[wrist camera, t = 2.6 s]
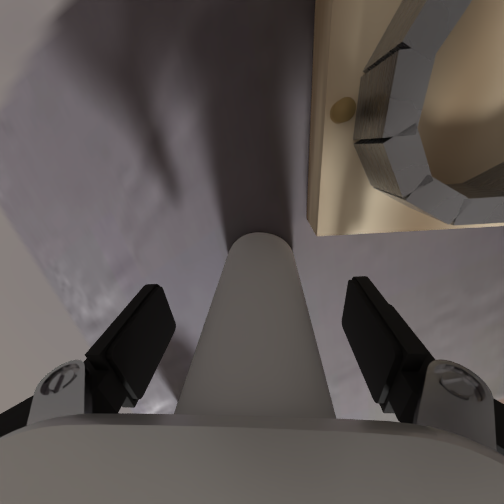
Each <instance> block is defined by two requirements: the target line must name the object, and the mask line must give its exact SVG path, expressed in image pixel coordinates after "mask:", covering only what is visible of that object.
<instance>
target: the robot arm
mask: <svg viewBox="0 0 504 504" xmlns="http://www.w3.org/2000/svg"><path fill="white" fill-rule="evenodd" d="M342 327H343V329H344V332H345V334H346V336H347V339H348V341H349V344H350V346H351V348H352V351H353V353H354V355H355V358H356V360H357V362H358V365H359V367H360V369H361V372H362V374H363V376H364V379H365V381H366V383H367V386H368V388H369V390H370V393H371V395H372V398H373V400H374V401H375V402H376V403H379V404H380V406H381V408H382V411H383V413H395V415H396V417H397V419H398V421H400V422H401V423H400V422H391V421H374V420H354V419H330V418H297V417H263V416H224V415H180V414H119V413H118V412H119V410H120V408H121V406H122V407H135V406H136V404H137V402H138V400H139V399H141V398H142V397H143V395H144V393H145V391H146V389H147V387H148V385H149V383H150V381H151V379H152V377H153V375H154V373H155V371H156V369H157V366H158V364H159V362H160V360H161V358H162V356H163V354H164V352H165V350H166V348H167V346H168V344H169V342H170V340H171V338H172V336H173V334H174V332H175V329H176V324H175V321H174V318H173V315H172V312H171V310H170V307H169V304H168V301H167V299H166V296H165V293H164V290H163V288H162V287H160V286H159V285H158V284H147V285H145V286H144V287H143V288H142V289H141V290H140V291H139V293H138V294H137V295H136V296H135V297H134V298H133V299H132V301H131V302H130V303H129V304H128V305H127V306H126V308H125V309H124V310H123V311H122V312H121V313H120V315H119V316H118V317H117V318H116V319H115V320H114V322H113V323H112V324H111V325H110V326H109V327H108V328H107V330H106V331H105V332H104V333H103V334H102V335H101V337H100V338H99V339H98V340H97V341H96V342H95V344H94V345H93V346H92V347H91V348H90V349H89V351H88V352H87V353H86V354H85V356H86V357H87V359H86V360H85V361H84V362H82V361H81V360H73V361H69V362H66V363H64V364H62V365H60V366H58V367H57V368H55V369H54V370H52V371H51V372H50V373H48V374H47V375H46V376H45V377H44V378H43V379H42V380H41V381H40V383H39V384H38V386H37V387H36V390H35V392H34V395H33V396H32V397H30V398H28V399H26V400H25V401H23V402H21V403H19V404H17V405H16V406H14V407H12V408H10V409H9V410H7V411H5V412H3V413H1V414H0V504H504V404H502V403H501V402H499V401H497V400H495V399H493V396H492V393H491V391H490V389H489V388H488V386H487V385H486V383H485V382H484V381H483V380H482V379H481V378H480V377H479V376H477V375H476V374H475V373H473V372H472V371H470V370H469V369H467V368H465V367H463V366H462V365H460V364H457V363H454V362H452V361H447V360H435V359H434V357H433V356H432V355H431V354H430V352H429V351H428V350H427V349H426V347H425V346H424V345H423V344H422V342H421V341H420V340H419V339H418V337H417V336H416V335H415V334H414V332H413V331H412V330H411V328H410V327H409V326H408V325H407V323H406V322H405V321H404V320H403V318H402V317H401V316H400V315H399V313H398V312H397V311H396V310H395V308H394V307H393V306H392V305H390V304H388V302H387V301H386V300H385V299H384V297H383V296H382V295H381V293H380V292H379V291H378V290H377V288H376V287H375V286H374V284H373V283H372V282H371V281H370V279H369V278H368V277H366V276H361V277H353V278H352V280H349V281H348V286H347V292H346V298H345V304H344V311H343V317H342Z"/></svg>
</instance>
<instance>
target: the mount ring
mask: <svg viewBox="0 0 504 504" xmlns="http://www.w3.org/2000/svg"><path fill="white" fill-rule="evenodd" d="M471 1H472V0H402V2H401V4H400V6H399V8H398V9H397V11H396V13H395V15H394V17H393V18H392V20H391V22H390V24H389V25H388V27H387V29H386V31H385V33H384V34H383V36H382V38H381V40H380V41H379V43H378V45H377V47H376V49H375V50H374V52H373V54H372V56H371V58H370V59H369V61H368V63H367V65H366V66H365V68H364V70H363V72H364V73H366V74H365V75H363V76H362V77H361V79H360V87H359V95H358V103H357V111H356V119H355V127H354V135H353V140H357V139H360V140H359V141H357V142H356V143H354V147H355V149H356V151H357V154H358V156H359V159H360V161H361V163H362V166H363V168H364V170H365V173H366V175H367V177H368V180H369V182H370V184H371V186H374V187H373V188H374V189H376V190H378V191H380V192H382V193H383V194H385V195H387V196H389V197H391V198H393V199H394V200H396V201H398V202H400V203H402V204H403V205H405V206H407V207H409V208H412V209H414V210H416V211H418V212H421V213H423V214H425V215H428V216H430V217H432V218H435V219H437V220H439V221H442V222H444V223H446V224H451V225H453V226H454V225H472V224H489V223H504V162H502V163H500V164H498V165H496V166H494V167H493V168H491V169H489V170H487V171H485V172H483V173H481V174H479V175H477V176H475V177H473V178H471V179H469V180H467V181H466V182H464V183H458V184H444V183H442V182H440V181H439V180H437V179H435V178H433V177H432V175H431V172H430V169H429V165H428V162H427V158H426V155H425V152H424V148H423V145H422V141H421V138H420V135H419V131H418V124H419V120H420V116H421V112H422V108H423V104H424V100H425V96H426V92H427V88H428V84H429V80H430V76H431V72H432V68H433V64H434V60H435V56H436V53H437V52H438V50H439V49H440V47H441V46H442V44H443V43H444V41H445V40H446V38H447V37H448V35H449V34H450V32H451V31H452V29H453V28H454V26H455V25H456V24H457V22H458V21H459V19H460V18H461V16H462V15H463V13H464V12H465V10H466V9H467V7H468V6H469V4H470V3H471Z"/></svg>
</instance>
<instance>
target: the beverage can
mask: <svg viewBox="0 0 504 504" xmlns="http://www.w3.org/2000/svg"><path fill="white" fill-rule="evenodd" d="M174 414H180V415H224V416H263V417H297V418H330V419H336V416H335V412H334V408H333V404H332V401H331V397H330V393H329V389H328V385H327V381H326V378H325V374H324V370H323V366H322V362H321V358H320V355H319V351H318V347H317V343H316V339H315V335H314V332H313V328H312V324H311V320H310V316H309V312H308V309H307V305H306V301H305V297H304V293H303V289H302V286H301V282H300V278H299V274H298V270H297V266H296V262H295V259H294V255H293V251H292V250H291V248H290V246H289V245H288V244H287V243H286V242H285V241H284V240H283V239H282V238H280V237H278V236H276V235H273V234H269V233H261V232H255V233H249V234H246V235H244V236H242V237H240V238H239V239H238V240H237V241H236V242H235V243H234V244H233V245H232V247H231V249H230V250H229V253H228V256H227V259H226V262H225V265H224V268H223V271H222V274H221V277H220V280H219V283H218V286H217V288H216V291H215V294H214V297H213V300H212V303H211V306H210V309H209V312H208V315H207V318H206V321H205V324H204V327H203V330H202V333H201V336H200V339H199V342H198V344H197V347H196V350H195V353H194V356H193V359H192V362H191V365H190V368H189V371H188V374H187V377H186V380H185V383H184V386H183V389H182V392H181V395H180V398H179V400H178V403H177V406H176V409H175V412H174Z"/></svg>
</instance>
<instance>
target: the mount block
mask: <svg viewBox="0 0 504 504" xmlns="http://www.w3.org/2000/svg"><path fill="white" fill-rule="evenodd" d="M401 2H402V0H315V23H314V48H313V73H312V98H311V123H310V148H309V173H308V198H307V220H308V222H309V223H310V225H311V227H312V229H313V230H314V232H315V234H316V236H331V235H348V234H366V233H384V232H402V231H420V230H438V229H456V228H474V227H492V226H504V223H489V224H472V225H454V226H453V225H451V224H446V223H444V222H442V221H439V220H437V219H435V218H432V217H430V216H428V215H425V214H423V213H421V212H418V211H416V210H414V209H412V208H409V207H407V206H405V205H403V204H402V203H400V202H398V201H396V200H394V199H393V198H391V197H389V196H387V195H385V194H383V193H382V192H380V191H378V190H376V189H374V188H373V187H374V186H371V184H370V182H369V180H368V177H367V175H366V173H365V170H364V168H363V166H362V163H361V161H360V159H359V156H358V154H357V151H356V149H355V147H354V143H356V142H357V141H359V140H360V139H357V140H353V135H354V127H355V119H356V111H357V103H358V95H359V87H360V79H361V77H362V76H363V75H365V74H366V73H364V72H363V70H364V68H365V66H366V65H367V63H368V61H369V59H370V58H371V56H372V54H373V52H374V50H375V49H376V47H377V45H378V43H379V41H380V40H381V38H382V36H383V34H384V33H385V31H386V29H387V27H388V25H389V24H390V22H391V20H392V18H393V17H394V15H395V13H396V11H397V9H398V8H399V6H400V4H401ZM418 131H419V135H420V138H421V141H422V145H423V148H424V152H425V155H426V158H427V162H428V165H429V169H430V172H431V175H432V177H433V178H435V179H437V180H439V181H440V182H442V183H444V184H458V183H464V182H466V181H467V180H469V179H471V178H473V177H475V176H477V175H479V174H481V173H483V172H485V171H487V170H489V169H491V168H493V167H494V166H496V165H498V164H500V163H502V162H504V0H472V1H471V3H470V4H469V6H468V7H467V9H466V10H465V12H464V13H463V15H462V16H461V18H460V19H459V21H458V22H457V24H456V25H455V26H454V28H453V29H452V31H451V32H450V34H449V35H448V37H447V38H446V40H445V41H444V43H443V44H442V46H441V47H440V49H439V50H438V52H437V53H436V56H435V60H434V64H433V68H432V72H431V76H430V80H429V84H428V88H427V92H426V96H425V100H424V104H423V108H422V112H421V116H420V120H419V124H418Z"/></svg>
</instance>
